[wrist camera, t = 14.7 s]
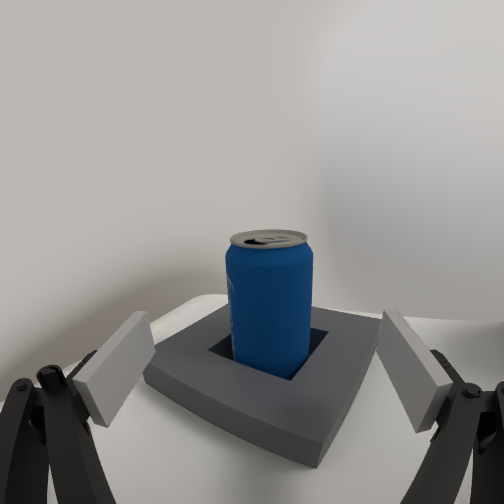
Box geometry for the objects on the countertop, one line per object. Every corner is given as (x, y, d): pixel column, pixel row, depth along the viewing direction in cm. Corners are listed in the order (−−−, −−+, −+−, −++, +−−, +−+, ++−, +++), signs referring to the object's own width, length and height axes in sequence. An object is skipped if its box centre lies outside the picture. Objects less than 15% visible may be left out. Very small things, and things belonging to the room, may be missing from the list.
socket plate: (377, 344, 26) (381, 319, 25) (316, 468, 13) (322, 443, 12) (247, 314, 34) (246, 292, 34) (145, 381, 22) (137, 355, 21)
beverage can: (228, 356, 26) (218, 232, 23) (291, 344, 27) (292, 226, 24) (243, 400, 20) (233, 250, 17) (319, 382, 21) (329, 241, 18)
